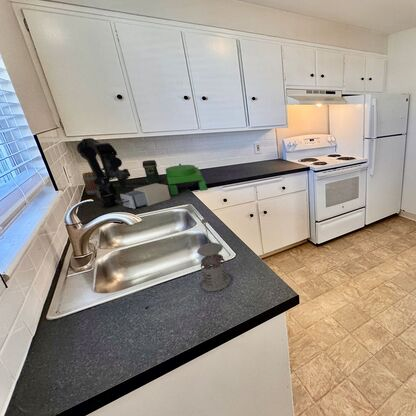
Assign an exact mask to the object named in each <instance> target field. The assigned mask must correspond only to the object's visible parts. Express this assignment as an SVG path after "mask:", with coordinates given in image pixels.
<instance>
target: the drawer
mask: <svg viewBox="0 0 416 416" xmlns="http://www.w3.org/2000/svg"><path fill="white" fill-rule="evenodd" d="M119 196H120V199H117V200H115V202H116V203H117V204H120V205H123V207H126V208H128V209H129V208H130V209H134V210H135V209H136V208H138V207H142V206H146V205H145V204H148V203H147V199H146V195H145V192H140V191H134V190H132V191H129V192H125V193H120V194H119ZM132 196H134V199H135V203H136V204H134V200H133V197H132Z"/></svg>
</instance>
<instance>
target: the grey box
mask: <svg viewBox="0 0 416 416" xmlns="http://www.w3.org/2000/svg"><path fill="white" fill-rule="evenodd" d="M133 191H140V192H145V195H146V199H147V203H148V204H145V205H144V206H147V207H149V206H153V205H157V204H160V203H162V202H165V201H169V200H171V193H170V189H169V185H166V184H162V183H155V184H147V185H143V186H139V187H136V188H133Z"/></svg>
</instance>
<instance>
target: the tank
mask: <svg viewBox="0 0 416 416" xmlns="http://www.w3.org/2000/svg"><path fill="white" fill-rule="evenodd" d="M164 171H165V174H166V179H167V183H168V189H169V193H170V196H174V195H175V196H176V195H179V194H180V193H179V189H178V184H182V183H188V182H189V183H190V182H196V183H197V185H198V187H199V191H200V192H203V191H207V190H208V187H207V184H206V180H205V178H204V177H203V174H202V173H201V171H200V168H199V167H197V166H195V165H193V164H182V163H178V165H173V166H169V167H166V168H165V170H164Z"/></svg>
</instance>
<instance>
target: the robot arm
mask: <svg viewBox="0 0 416 416" xmlns="http://www.w3.org/2000/svg"><path fill="white" fill-rule="evenodd" d="M76 151H77V153H78V154H80V157H81V158H83V159H84V160H86V162H87V163H88V166H89V167H90V170H91V172H93V174H94V176H95V178H96V179H95V180H94V183H95V184H97V195H96V197H97V198H98V199H100V200H101V203H102V205H101V206H102V207H104V208H107V209H108V208H111V207H114V206H118V205H119V203H116V202H115V200H118V199H117V197H116V196H117V188H116V187H115V186H114V184H113V182H112V180H116V179H117V182H118V183H119V186H120V187H121V190H126V183H127V181H128V179H130V177H131V173H130V171H129V169H128V168H123V169H120V167H121V166H122V165H123V161H122V159H121V158H119V157H117V156H118V152H117V150H116V149H115V147H114V146H113V145H112V144H111V143H110V142H100V141H98V140H96V139H94V138H92V137H87V138H82V139H81V141H80V142H79V143H78V144H77V145H76ZM97 155H98V157H99V158H100V162H101V165H102V167H101V165H100V163H99V161H98V159H97ZM103 172H105V174H106V175H104V173H103ZM106 177H107V178H106Z"/></svg>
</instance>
